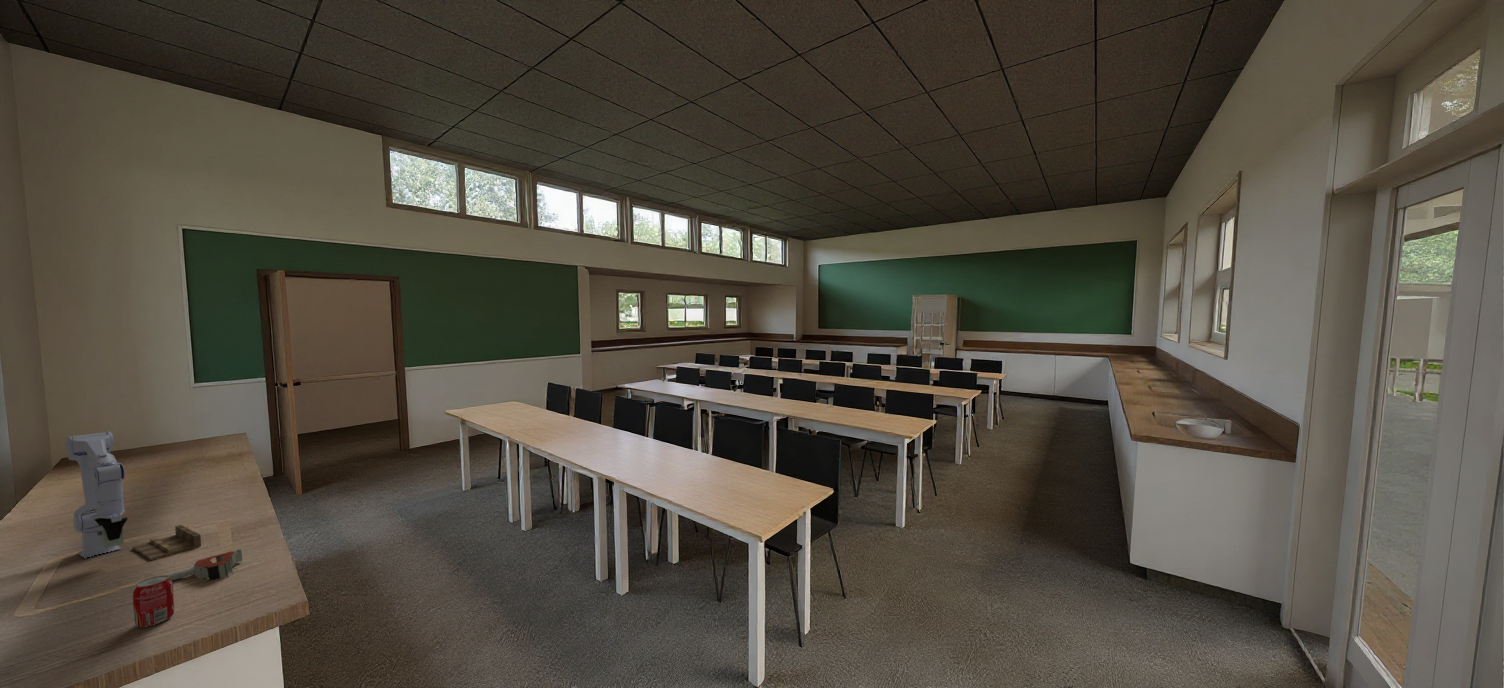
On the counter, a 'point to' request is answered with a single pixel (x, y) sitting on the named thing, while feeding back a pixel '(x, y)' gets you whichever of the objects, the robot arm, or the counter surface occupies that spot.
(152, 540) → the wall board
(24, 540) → the counter surface
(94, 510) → the robot arm
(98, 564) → the counter surface
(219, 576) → the tape dispenser
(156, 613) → the soda can
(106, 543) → the cabinet block
